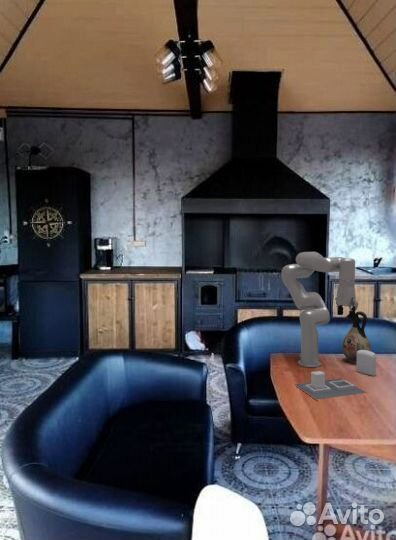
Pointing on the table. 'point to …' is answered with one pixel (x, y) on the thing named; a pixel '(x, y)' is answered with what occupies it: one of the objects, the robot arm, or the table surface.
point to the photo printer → (366, 362)
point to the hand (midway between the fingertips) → (346, 316)
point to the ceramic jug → (355, 338)
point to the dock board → (331, 389)
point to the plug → (318, 380)
